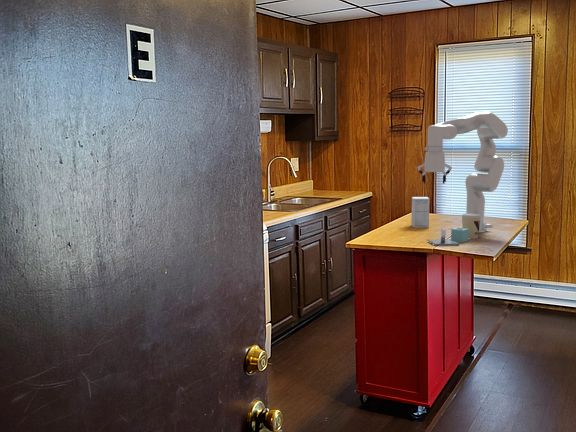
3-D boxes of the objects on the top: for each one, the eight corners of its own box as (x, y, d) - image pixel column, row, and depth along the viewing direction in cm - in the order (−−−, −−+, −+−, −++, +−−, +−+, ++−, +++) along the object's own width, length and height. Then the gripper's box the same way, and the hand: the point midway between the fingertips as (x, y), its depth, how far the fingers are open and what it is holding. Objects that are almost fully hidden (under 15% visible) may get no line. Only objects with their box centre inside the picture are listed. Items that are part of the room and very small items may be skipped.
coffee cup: (477, 239, 306) (478, 216, 305) (458, 237, 311) (459, 214, 310) (482, 236, 314) (483, 214, 312) (464, 235, 319) (464, 212, 317)
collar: (456, 239, 308) (457, 227, 307) (468, 240, 303) (469, 228, 303) (450, 240, 303) (451, 228, 302) (463, 242, 299) (463, 230, 298)
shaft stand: (450, 241, 302) (451, 227, 301) (459, 245, 290) (459, 231, 289) (427, 241, 301) (427, 227, 300) (434, 245, 289) (435, 231, 288)
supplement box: (427, 225, 354) (428, 196, 352) (429, 227, 345) (430, 198, 343) (410, 225, 355) (411, 196, 353) (412, 227, 346) (413, 198, 344)
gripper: (417, 149, 305) (416, 183, 308) (453, 149, 302) (451, 184, 305) (417, 149, 313) (416, 182, 315) (451, 149, 310) (450, 182, 312)
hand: (433, 183), depth 310 cm, fingers open, 9 cm apart
